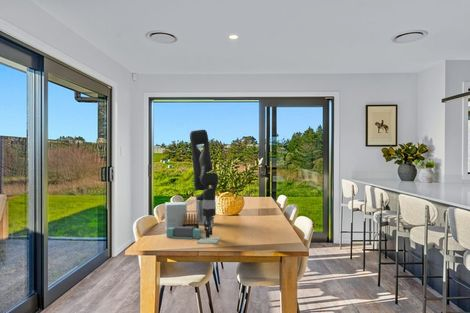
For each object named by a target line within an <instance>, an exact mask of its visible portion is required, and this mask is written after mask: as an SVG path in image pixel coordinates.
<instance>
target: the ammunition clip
mask: <svg viewBox="0 0 470 313" xmlns="http://www.w3.org/2000/svg"><path fill="white" fill-rule="evenodd" d="M182 227H194V229H195V228H200V225H199V219H198V213H197V218H196V212H194V214H193V213H191V214H190V213H188V214H187V213H186V219H185V215H184V214H183V225H182Z"/></svg>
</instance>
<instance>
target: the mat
mask: <svg viewBox="0 0 470 313" xmlns="http://www.w3.org/2000/svg"><path fill="white" fill-rule="evenodd" d="M220 239H221V237H216V236H215V237H211V236H210V237H209V238H206V236H201V237H200V238H199V240H197V242H196V244H205V245H206V244H207V245H209V244H210V245H211V244H213V245H217V244H218V242H219V241H220Z"/></svg>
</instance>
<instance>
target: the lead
mask: <svg viewBox="0 0 470 313" xmlns="http://www.w3.org/2000/svg"><path fill="white" fill-rule="evenodd" d="M193 229H194V227H180V226H176V227H175V228H174V236H176V237H192V239H193Z"/></svg>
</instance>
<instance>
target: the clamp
mask: <svg viewBox="0 0 470 313" xmlns="http://www.w3.org/2000/svg"><path fill="white" fill-rule="evenodd" d="M174 228H175V227H169V228H168V229H167V232H166V238H172V239H179V240H180V239H182V240H183V239H184V240H192V239H194V240H195V239H196V240H198V239H199V240H200V239H201V238H202V228H200V227H199V228H195V229H193V238H192V237H176V236H174Z"/></svg>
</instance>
